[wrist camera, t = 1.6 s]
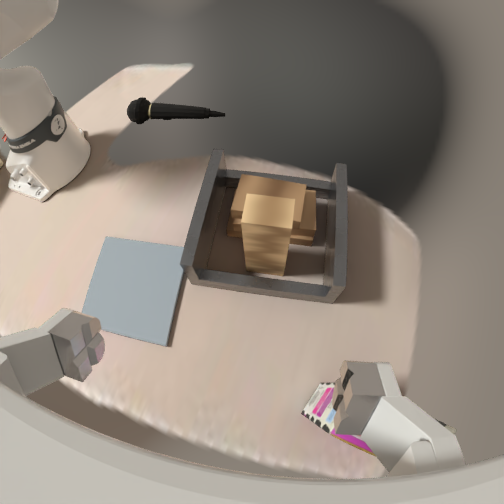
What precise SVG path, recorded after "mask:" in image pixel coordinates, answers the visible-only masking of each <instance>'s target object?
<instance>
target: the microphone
mask: <svg viewBox="0 0 504 504" xmlns="http://www.w3.org/2000/svg"><path fill="white" fill-rule="evenodd" d="M127 115H128V117H129V118H130V120H131V121H133V122H136V123H137V124H142V123H144V121H146V120H148V119H149V118H151V119H164V120H171V119H176V118H178V119H193V118H194V119H204V118H209V117H220V116H225V113H221V112H216V111H210V109H206V108H203V107H194V106H185V105H175V104H163V103H152V104H151V103H150V102H149V101H148V100H146V98H139V99H138V100H134V101H132V102H131V103H130V105H129V106H128V109H127Z"/></svg>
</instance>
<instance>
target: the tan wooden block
mask: <svg viewBox="0 0 504 504" xmlns="http://www.w3.org/2000/svg"><path fill="white" fill-rule="evenodd" d="M294 205H295V199H289V198H282V197H273V196H265V195H257V194H248V193H247V195H246V200H245V205H244V209H243V214H242V219H241V228H242V237H243V245H244V254H245V263H246V271H249V272H256V273H264V274H271V275H279V276H283V274H284V269H285V264H286V259H287V253H288V248H289V243H290V237H291V232H292V224H293V215H294Z"/></svg>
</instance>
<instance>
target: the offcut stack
mask: <svg viewBox="0 0 504 504" xmlns="http://www.w3.org/2000/svg"><path fill="white" fill-rule="evenodd" d="M247 193H248V194H257V195H265V196H273V197H282V198H289V199H295V205H294V215H293V224H292V232H291V237H290V243H289V244H297V245H305V246H312V243H313V237H314V235H315V232H316V191H313V190H306V185H305V184H300V183H294V182H289V181H283V180H277V179H271V178H265V177H259V176H252V175H245V174H242V175H241V178H240V181H239V184H238V187H237V190H235V192H234V197H233V201H232V206H231V211H230V215H229V220H228V224H227V229H226V231H227V236H231V237H239V238H243V237H242V228H241V219H242V214H243V209H244V205H245V200H246V195H247Z"/></svg>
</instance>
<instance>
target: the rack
mask: <svg viewBox="0 0 504 504" xmlns="http://www.w3.org/2000/svg"><path fill="white" fill-rule="evenodd" d="M242 174H245V175H252V176H259V177H265V178H271V179H277V180H283V181H289V182H294V183H300V184H305V185H306V190H313V191H316V198H323V199H328V203H327V229H326V248H325V264H324V278H323V285H317V284H309V283H301V282H293V281H286V280H278V279H271V278H263V277H256V276H249V275H242V274H235V273H228V272H221V271H214V270H207V269H206V268H207V263H208V259H209V255H210V250H211V246H212V242H213V238H214V233H215V229H216V225H217V221H218V217H219V213H220V209H221V205H222V201H223V197H224V193H225V189H226V187H233V188H237V187H238V184H239V181H240V178H241V175H242ZM347 235H348V199H347V165H346V164H341V163H336V166H335V169H334V173H333V176H332V179H331V182H328V181H321V180H314V179H307V178H299V177H292V176H284V175H275V174H267V173H258V172H248V171H238V170H227V169H226V163H225V156H224V150H222V149H213V152H212V155H211V158H210V161H209V164H208V167H207V171H206V174H205V177H204V180H203V183H202V187H201V190H200V193H199V197H198V200H197V203H196V207H195V210H194V214H193V217H192V221H191V224H190V228H189V231H188V235H187V238H186V242H185V246H184V249H183V253H182V257H181V261H180V266H181V267H182V269H183V271H184V272H185V274H186V276H187V277H188V279H189V280H190V282H191V284H194V285H200V286H206V287H213V288H219V289H226V290H233V291H239V292H246V293H253V294H260V295H268V296H275V297H283V298H290V299H298V300H306V301H314V302H322V303H331V304H333V302H334V301H335V300H336V299H337V297H338V296H339V295H340V294H341V292H342V291H343V290H344V289H345V287H346V273H347Z"/></svg>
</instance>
